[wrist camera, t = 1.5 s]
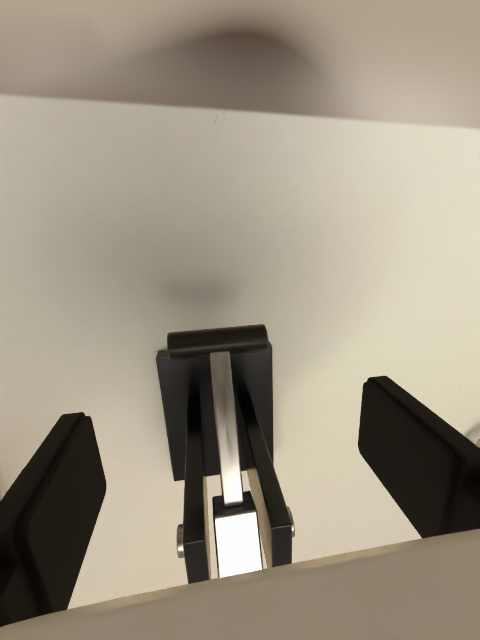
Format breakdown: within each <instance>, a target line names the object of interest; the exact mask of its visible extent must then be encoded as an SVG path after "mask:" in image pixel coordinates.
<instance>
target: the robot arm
mask: <svg viewBox="0 0 480 640" xmlns="http://www.w3.org/2000/svg"><path fill="white" fill-rule="evenodd" d="M358 448H359V451H360V454H361V455H362V457H363V458H364V459H365V461H366V462H367V463H368V465H369V466H370V468H371V469H372V470H373V472H374V473H375V474H376V476H377V477H378V478H379V480H380V481H381V483H382V484H383V485H384V487H385V488H386V489H387V491H388V492H389V493H390V495H391V496H392V498H393V499H394V500H395V502H396V503H397V504H398V506H399V507H400V508H401V510H402V511H403V513H404V514H405V515H406V517H407V518H408V519H409V521H410V522H411V524H412V525H413V526H414V528H415V529H416V530H417V532H418V533H419V534H420V536H421V537H422V539H418V540H413V541H407V542H402V543H397V544H391V545H386V546H381V547H376V548H370V549H365V550H360V551H354V552H349V553H344V554H339V555H334V556H328V557H323V558H318V559H313V560H308V561H303V562H298V563H292V564H287V565H282V566H277V567H272V568H267V569H262V570H257V571H252V572H247V573H242V574H237V575H231V576H226V577H221V578H216V579H212V580H207V581H202V582H197V583H192V584H187V585H182V586H177V587H172V588H167V589H162V590H157V591H152V592H147V593H142V594H137V595H133V596H128V597H123V598H118V599H113V600H109V601H104V602H100V603H95V604H91V605H86V606H82V607H77V608H73V609H68V610H67V608H68V605H69V602H70V599H71V596H72V593H73V590H74V587H75V584H76V581H77V578H78V575H79V572H80V569H81V566H82V563H83V560H84V557H85V554H86V551H87V548H88V545H89V542H90V539H91V536H92V533H93V530H94V527H95V524H96V521H97V518H98V515H99V512H100V509H101V506H102V503H103V500H104V497H105V493H106V479H105V475H104V471H103V466H102V462H101V458H100V453H99V449H98V445H97V441H96V436H95V432H94V428H93V423H92V419H91V417H90V416H85V414H84V413H83V412H79V413H71V414H64V415H62V416H61V417H60V418H59V420H58V421H57V423H56V424H55V426H54V427H53V428H52V430H51V431H50V433H49V434H48V435H47V437H46V438H45V440H44V441H43V443H42V444H41V445H40V447H39V448H38V450H37V451H36V453H35V454H34V455H33V457H32V458H31V460H30V461H29V462H28V464H27V465H26V466H25V468H24V469H23V470H22V472H21V473H20V474H19V476H18V477H17V479H16V480H15V481H14V483H13V484H12V486H11V487H10V489H9V490H8V491H7V493H6V494H5V496H4V497H3V498H2V500H1V501H0V640H480V448H479V447H478V446H476V445H475V444H474V443H472V442H471V441H470V440H469V439H467V438H466V437H465V436H463V435H462V434H461V433H460V432H458V431H457V430H456V429H454V428H453V427H452V426H450V425H449V424H448V423H447V422H445V421H444V420H443V419H441V418H440V417H439V416H438V415H436V414H435V413H434V412H432V411H431V410H430V409H429V408H427V407H426V406H425V405H423V404H422V403H421V402H419V401H418V400H417V399H416V398H414V397H413V396H412V395H410V394H409V393H408V392H407V391H405V390H404V389H403V388H401V387H400V386H399V385H398V384H396V383H395V382H394V381H392V380H391V379H390V378H388V377H387V376H378V377H370V378H368V380H367V382H365V383H364V384H363V393H362V404H361V416H360V427H359V439H358Z"/></svg>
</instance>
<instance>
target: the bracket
mask: <svg viewBox="0 0 480 640" xmlns="http://www.w3.org/2000/svg"><path fill="white" fill-rule="evenodd" d="M156 361H157V368H158V375H159V382H160V388H161V395H162V402H163V409H164V416H165V423H166V430H167V436H168V443H169V450H170V457H171V464H172V471H173V478H174V481H180V480H185V488H184V516H183V524H180V525H178V527H177V553H178V557H179V558H183V557H185V564H186V571H187V578H188V584H192V583H197V582H202V581H207V580H211V564H210V543H209V522H208V501H207V481H206V476H213V475H219V474H220V466H219V455H218V444H217V433H216V422H215V411H214V400H213V389H212V377H211V366H210V357H202V358H192V359H182V360H172V361H171V360H170V359H169V355H168V351H158V353H157V357H156ZM230 364H231V374H232V384H233V394H234V404H235V414H236V424H237V434H238V445H239V455H240V465H241V471H246V470H247V474H248V478H249V483H250V488H251V492H252V497H253V500H254V503H255V506H256V509H257V514H258V524H259V530H260V535H261V539H262V544H263V549H264V553H265V558H266V563H267V568H272V567H277V566H282V565H287V564H292V537H294V536H295V528H294V522H293V517H292V514H291V511H290V508H289V507H288V506H286V503H285V500H284V497H283V494H282V491H281V488H280V485H279V482H278V479H277V476H276V473H275V470H274V467H273V465H274V464H273V382H272V345H271V344H270V342H269V341H268V348H267V350H266V351H260V352H251V353H241V354H231V355H230Z"/></svg>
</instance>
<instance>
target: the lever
mask: <svg viewBox="0 0 480 640" xmlns="http://www.w3.org/2000/svg"><path fill="white" fill-rule="evenodd" d="M167 346H168V355H169V359H170V360H171V361H172V360H182V359H192V358H202V357H210V366H211V377H212V389H213V400H214V411H215V422H216V433H217V444H218V455H219V466H220V477H221V488H222V495H221V496H215V497H213V498H212V501H213V521H214V533H215V544H216V556H217V568H218V577H219V578H221V577H226V576H231V575H237V574H242V573H247V572H252V571H257V570H262V569H263V562H262V553H261V543H260V533H259V524H258V514H257V509H256V506H255V503H254V500H253V498H252V495H251V492H250V491H246V492H243V485H242V475H241V465H240V455H239V445H238V434H237V424H236V414H235V404H234V394H233V384H232V374H231V364H230V355H231V354H241V353H251V352H260V351H266V350H267V348H268V335H267V330H266V327H265V325H263V324H260V325H249V326H238V327H227V328H216V329H205V330H194V331H183V332H172V333H168V336H167Z"/></svg>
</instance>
